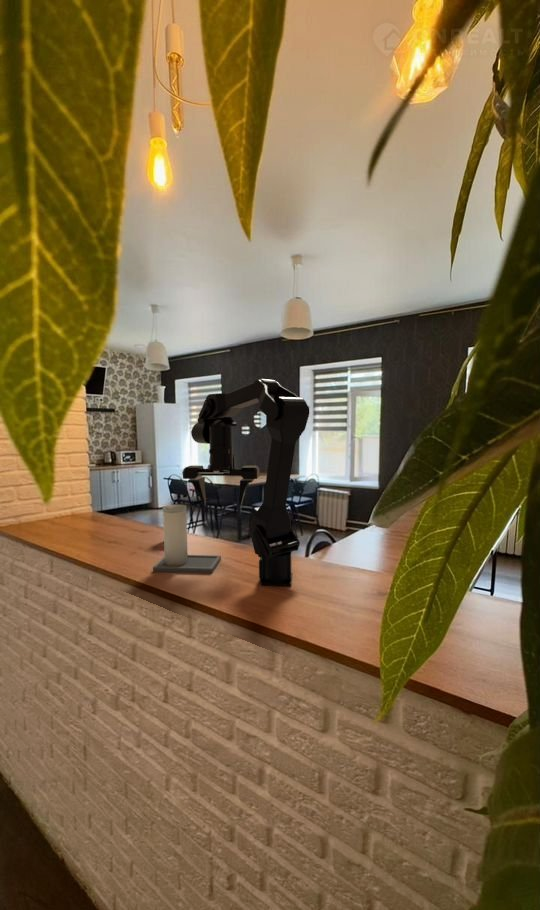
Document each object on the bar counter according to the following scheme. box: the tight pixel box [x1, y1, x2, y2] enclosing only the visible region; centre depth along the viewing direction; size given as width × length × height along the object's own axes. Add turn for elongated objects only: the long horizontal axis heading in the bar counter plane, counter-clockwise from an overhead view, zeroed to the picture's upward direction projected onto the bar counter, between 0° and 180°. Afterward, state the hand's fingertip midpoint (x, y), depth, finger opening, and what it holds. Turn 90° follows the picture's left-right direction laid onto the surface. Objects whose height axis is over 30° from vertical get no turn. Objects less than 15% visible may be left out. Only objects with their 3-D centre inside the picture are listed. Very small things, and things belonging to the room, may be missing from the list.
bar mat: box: [152, 554, 222, 574], centre depth 96 cm, size 14×9×1 cm, turn 84°
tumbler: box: [162, 504, 189, 566], centre depth 96 cm, size 6×6×14 cm
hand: (222, 505), depth 102 cm, fingers open, 9 cm apart
